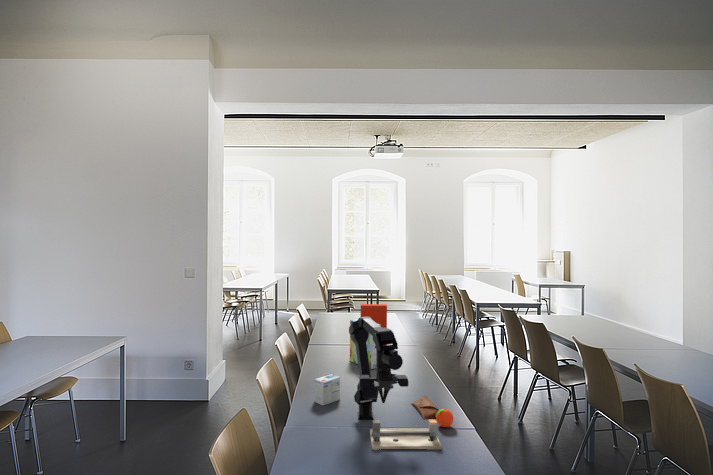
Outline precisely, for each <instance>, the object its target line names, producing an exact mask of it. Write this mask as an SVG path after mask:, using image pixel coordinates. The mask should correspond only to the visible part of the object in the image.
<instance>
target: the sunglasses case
mask: <svg viewBox="0 0 713 475" xmlns="http://www.w3.org/2000/svg"><path fill="white" fill-rule="evenodd" d="M410 404H411V405H412V406H413V407H414V409H416V411H417V412H418V413H419V415H421V418H422V419H423V420H430V419H429V418H436V417H435V416H436V414H437V412H438V411H439V410H440V409H439V408H438V407H437V406H436V404H434V402H432V400H430V399H429V398H428V397H427V396H426V395H424V396H422V397H421V398H419V399H416V400H415V401H414V402H411V403H410Z"/></svg>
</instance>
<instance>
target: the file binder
mask: <svg viewBox="0 0 713 475" xmlns="http://www.w3.org/2000/svg"><path fill="white" fill-rule="evenodd" d="M360 317H371V319H372V320H373V321H374V322H375V323H377V324H381V327H382V328H388V305H387V304H381V303H376V304H375V303H361V304H360Z"/></svg>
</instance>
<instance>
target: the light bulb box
mask: <svg viewBox="0 0 713 475" xmlns="http://www.w3.org/2000/svg"><path fill="white" fill-rule="evenodd" d="M340 400H341V377H340V376H338V375H335V374H332V373H331V374H328V375H325V376H321V377H317V378H314V402H315V403H316V404H318V405H321V406H326V405H329V404H331V403H334V402H337V401H340Z"/></svg>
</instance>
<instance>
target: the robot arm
mask: <svg viewBox="0 0 713 475" xmlns="http://www.w3.org/2000/svg"><path fill="white" fill-rule="evenodd" d="M357 319H358V320H357V321H355V322H353V323H352V324H351V325H350V324H349V327H348V333H349V337H350V336H351V340H352V341H353V342H354V343H355V345H356V352H357V360H358V364H357V365H358V367H357V368H358V373H359V374H358V375H359V377H358V379H359V380H358V383H357V387H356V388H357V391H356V392H355V394H354V396H353V398H354V402H355V403H356V404H357V405H358V411H357V419H358V420H374V419H375V418H374V417H375V416H374V413H373V412H374V411H373V403H377V402H378V399H379V398H378V397H379V396H380V400H381V402H382V404H385V402H386V399H387V397H388V394H389V392H390V390H392V389H394V385H395V384H396V385H397V384H398V386H399V387H404V388H405V387H407V388H408V387H409V378H408V376H407V375H406V374H397V373H392V370H393V371H397V370H399V369H401V367H402V365H403V363H404V360H403V358H402V356H401V354H399V350H398V349H399V346H398V345H399V344H398V341H397V339H396V336H395V334H394V331H393V330H392V329H390V328H388V327H387V328H382V327H380V326H379V325H378V324H377V323H375V322H374V321H373V320H372V319H371V317H361V316H360V317H359V318H357ZM369 333H370V334H371V335H372V336H373V341H374V343H375V345H376V346H375V348H376V369H375V372H376V373H375V377H372V373H371V369H370V366H369V359H368V352H367V345H366V342H367V339H368V337H369Z"/></svg>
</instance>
